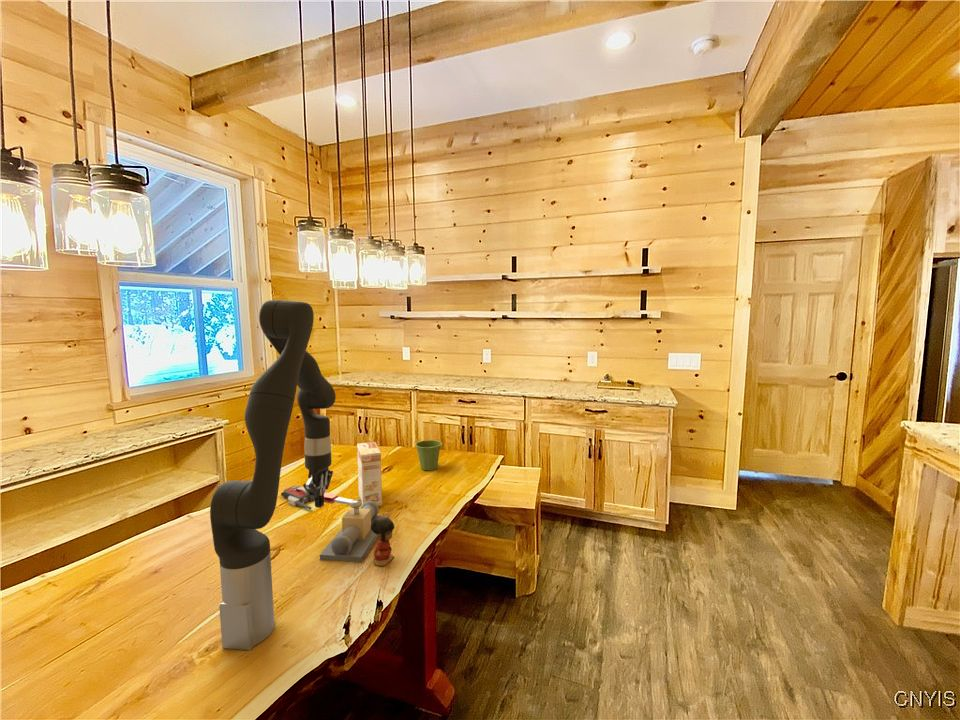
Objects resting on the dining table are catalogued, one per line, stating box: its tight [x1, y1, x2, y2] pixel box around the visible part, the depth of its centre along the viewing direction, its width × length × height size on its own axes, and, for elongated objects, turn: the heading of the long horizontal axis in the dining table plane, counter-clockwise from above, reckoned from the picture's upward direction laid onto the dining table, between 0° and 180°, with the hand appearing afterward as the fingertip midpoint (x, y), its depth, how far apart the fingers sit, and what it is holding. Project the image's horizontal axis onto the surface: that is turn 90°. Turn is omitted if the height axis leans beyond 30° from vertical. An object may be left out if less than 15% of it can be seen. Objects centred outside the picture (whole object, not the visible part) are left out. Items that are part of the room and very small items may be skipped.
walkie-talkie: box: [280, 485, 315, 510], centre depth 152 cm, size 9×4×20 cm
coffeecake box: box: [356, 441, 383, 507], centre depth 153 cm, size 15×7×20 cm, turn 22°
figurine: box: [371, 517, 395, 567], centre depth 114 cm, size 6×6×12 cm
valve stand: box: [319, 501, 390, 563], centre depth 126 cm, size 24×12×10 cm, turn 175°
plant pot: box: [414, 439, 443, 471], centre depth 184 cm, size 12×12×11 cm
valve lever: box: [324, 491, 362, 508], centre depth 127 cm, size 16×3×2 cm, turn 68°
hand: (319, 506), depth 126 cm, fingers closed
